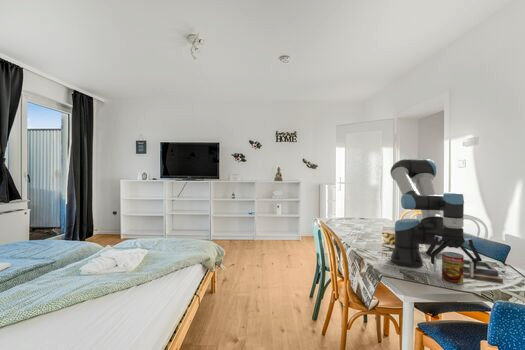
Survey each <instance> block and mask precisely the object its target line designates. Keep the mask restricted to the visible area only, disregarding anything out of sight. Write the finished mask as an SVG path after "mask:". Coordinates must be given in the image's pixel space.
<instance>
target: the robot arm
mask: <svg viewBox="0 0 525 350" xmlns="http://www.w3.org/2000/svg"><path fill="white" fill-rule="evenodd" d="M390 176H391V179H393V180H394V181H395V182H396V185H397V186H398V188H399V191H400V192H401V198H400V203H401V207H402V208H403V209H404V210H409V211H412V210H413V211H414V210H415V211H416V210H417V211H418V210H419V211H420V212H421V216H422V218H421V219H420V220H419V219H417V218H402V219H398V220H396V221H395V222H394V247H393V251H392V254H391V255H390V261H391V262H392V263H393V264H395V265H397V266H398V265H399V266H403V267H408V268H420V267H422V266H423V265H424V263H423V262H424V261H423V258H422V255H421V251H420V245H424V246H425V245H431V246H430V247H429V249H428V250H427V249H426V252H425V254H426V255H427V256H429V257H430V263H431V265H433V267H432V269H433V272H434V273H437V255H439V254H438V253H440V252H441V251H442V250H443V249H444V248H445V249H446V248H447V247H448V248H455V249H458V248H460V249H461V250H462V251H463V253H465V255H467V257H468V258H469V259H468V260H469V275H470V276H471V277H473V269H476V263H477V262H478V261H482V262H483V259H482V258H481V256H480V254H479V252H478V251H477V249H476V247H475V245H474V242H473V239H471V238H470V237H469V238H464V211H465V210H464V207H465V201H464V200H465V197H464V194H463V193H461V192H454V191H453V192H452V191H450V192H444V193H443V194H436V192H435V189H434V184H433V181H434V179H435V178H436V176H437V166H436V164H435V162H434V160H432V159H428V158H427V159H425V158H422V159H417V158H416V159H414V158H413V159H411V158H410V159H409V158H408V159H407V158H405V159H401V160H398V161H397V162H394V163H393V165H392V167H391V169H390ZM441 212H442V214H441ZM465 243H466V244H467V245H468V246H469V247H470V249H471V251H472V253H473V255H474V256H475V257H474V256H473V255H472V253H470V252H469V251H468V250H467V248H465V246H463V244H465ZM436 245H438V246H439V247H438V248H437V249H436V250H435V251H434V252H432V251H433V249H434V248H435V246H436ZM445 249H444V250H445ZM431 252H432V253H431ZM471 260H472V261H471Z"/></svg>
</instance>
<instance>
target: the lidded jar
mask: <svg viewBox="0 0 525 350" xmlns="http://www.w3.org/2000/svg"><path fill="white" fill-rule="evenodd" d="M430 246H431V245H425V244H424V247H425V249H426V251H427V250H428V249H429V247H430ZM438 247H439V246H438V245H436V246H435V248H434V249H433V251H432V252H434V251H435V250H436V249H437V248H438ZM445 249H446V248H444V249H443V250H442V251H441V252H440V253H438V254H437V255H440V254H441V255H442V252H445ZM432 252H431V253H432Z"/></svg>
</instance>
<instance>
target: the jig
mask: <svg viewBox="0 0 525 350" xmlns="http://www.w3.org/2000/svg"><path fill="white" fill-rule="evenodd" d="M469 260H471V259H466V258H464V264H463V278H467V279H468V278H469V279H475V280H482V281H483V280H484V281H487V282H488V281H489V282H496V283H497V282H498V283H503V282H504V279H503V278H502V277H501V276H500V275H499V271H498V270H497V269H496V268H495V267H494V266H493V265H491V263H489V262H488V261H483V260H482V261H478V262H477V263H476V269H473V277H471V276H470V275H469ZM471 261H472V260H471Z"/></svg>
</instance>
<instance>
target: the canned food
mask: <svg viewBox="0 0 525 350" xmlns="http://www.w3.org/2000/svg"><path fill="white" fill-rule="evenodd" d="M464 259H465V257H464V255H463V254H461V253H458V252H455V251H454V252H452V251H443V252H442V253H441V280H442V281H443V282H446V283H448V284H453V285H463V284H464V277H463V264H464Z"/></svg>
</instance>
